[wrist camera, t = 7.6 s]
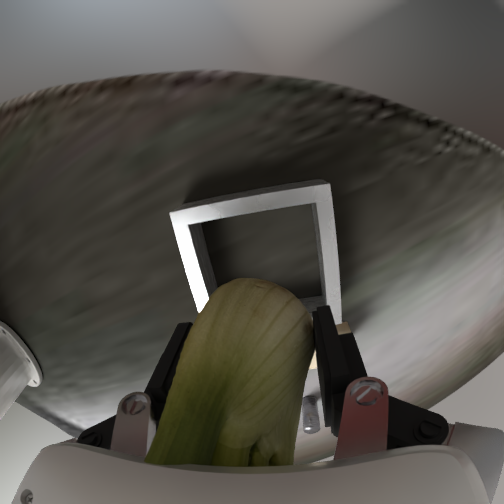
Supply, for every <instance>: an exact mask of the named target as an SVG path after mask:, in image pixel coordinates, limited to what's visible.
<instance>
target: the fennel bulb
mask: <svg viewBox="0 0 504 504" xmlns="http://www.w3.org/2000/svg"><path fill="white" fill-rule="evenodd" d="M314 353H315V338H314V329H313V320H312V317H311V315H310V314H309V312H308V311H307V309H306V308H305V306H304V305H303V304H302V302H301V301H300V300H299V299H298V298H296V297H295V295H293V294H292V293H291V292H290V291H288V290H287V289H285V288H283V287H281V286H278V285H276V284H275V283H273V282H270V281H267V280H263V279H254V278H238V279H234V280H232V281H230V282H228V283H226V284H224V285H221V286H220V287H218V288H217V290H215V292H214V293H213V294H212V295H211V296H210V297H209V299H208V301H207V302H206V303H205V304H204V307H203V308H202V310H201V311H200V312H199V313H198V316H197V318H196V320H195V322H194V324H193V326H192V327H191V329H190V332H189V334H188V336H187V339H186V341H185V342H184V347H183V350H182V352H181V353H180V354H181V355H180V359H179V361H178V365H177V367H176V374H175V376H174V378H173V382H172V386H171V389H170V390H169V393H168V396H167V399H166V404H165V407H164V411H163V413H162V415H161V419H160V421H159V426H158V429H157V432H156V434H155V436H154V438H153V441H152V443H151V446H150V448H149V450H148V453H147V455H146V457H145V459H144V462H145V463H150V464H156V465H184V464H195V465H207V466H225V467H268V466H287V465H293V462H294V450H295V442H296V437H297V430H298V425H299V420H300V413H301V405H302V399H303V392H304V386H305V381H306V378H307V373H308V370H309V367H310V365H311V362H312V359H313V356H314Z"/></svg>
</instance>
